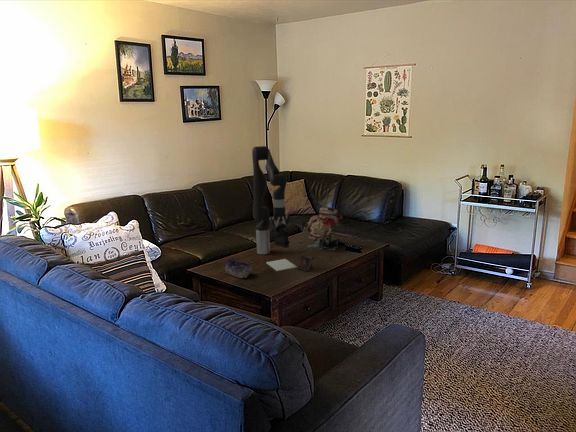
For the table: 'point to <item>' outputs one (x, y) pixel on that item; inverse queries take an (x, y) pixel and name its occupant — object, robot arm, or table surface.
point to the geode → (238, 268)
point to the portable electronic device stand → (308, 262)
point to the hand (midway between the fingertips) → (280, 231)
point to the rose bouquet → (323, 229)
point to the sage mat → (281, 265)
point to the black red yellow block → (281, 236)
